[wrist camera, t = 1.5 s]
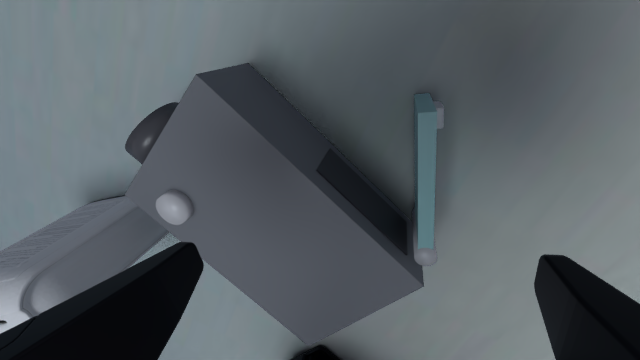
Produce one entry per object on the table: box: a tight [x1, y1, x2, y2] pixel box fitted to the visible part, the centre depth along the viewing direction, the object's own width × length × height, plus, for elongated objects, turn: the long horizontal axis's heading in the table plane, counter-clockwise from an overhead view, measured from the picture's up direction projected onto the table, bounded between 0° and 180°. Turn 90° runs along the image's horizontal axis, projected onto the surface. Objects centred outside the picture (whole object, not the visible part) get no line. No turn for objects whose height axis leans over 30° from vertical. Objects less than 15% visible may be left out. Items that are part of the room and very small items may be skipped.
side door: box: [412, 93, 444, 266], centre depth 17 cm, size 9×1×5 cm, turn 9°
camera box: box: [125, 63, 424, 346], centre depth 20 cm, size 18×10×6 cm, turn 49°
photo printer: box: [0, 196, 169, 334], centre depth 22 cm, size 10×4×12 cm, turn 107°
